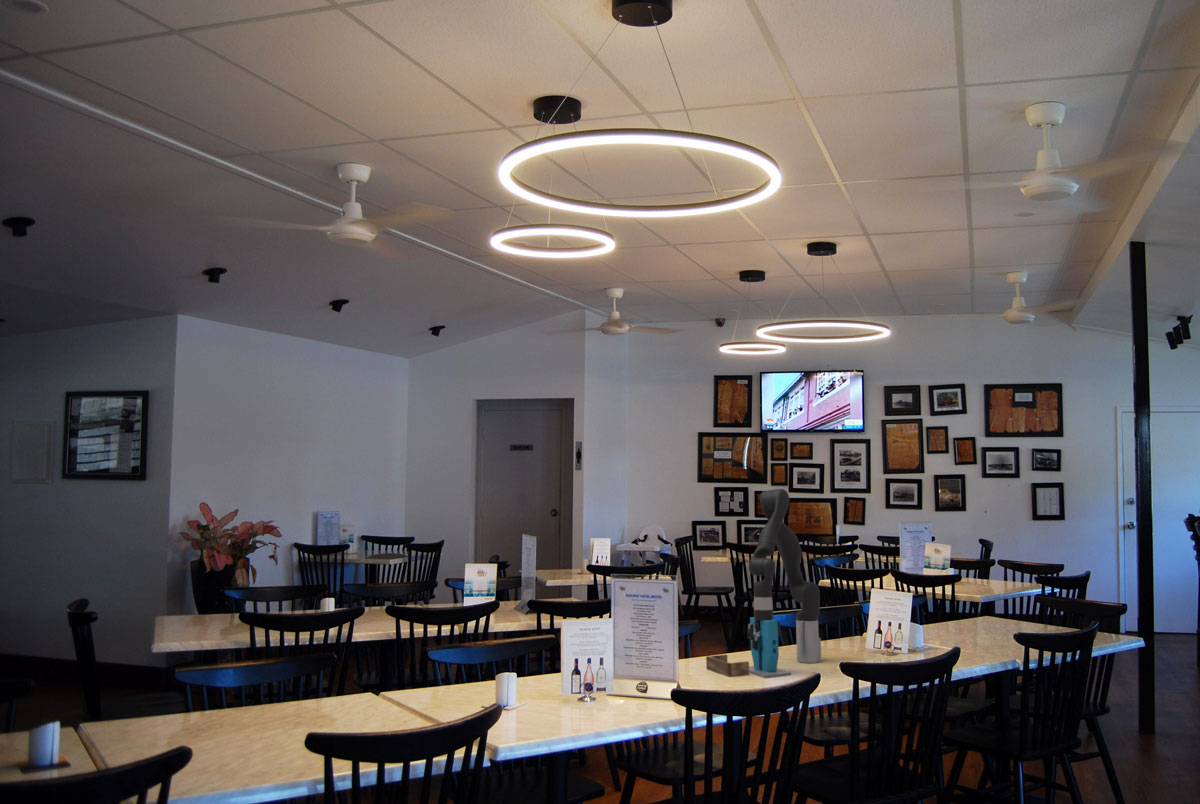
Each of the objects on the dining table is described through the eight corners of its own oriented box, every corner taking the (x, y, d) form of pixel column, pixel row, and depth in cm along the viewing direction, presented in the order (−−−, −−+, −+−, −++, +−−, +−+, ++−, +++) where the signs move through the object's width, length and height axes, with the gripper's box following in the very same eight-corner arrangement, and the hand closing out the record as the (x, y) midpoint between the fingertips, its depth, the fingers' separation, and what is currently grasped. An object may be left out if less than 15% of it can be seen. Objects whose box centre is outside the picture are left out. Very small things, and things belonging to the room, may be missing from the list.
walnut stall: (725, 666, 374) (725, 654, 374) (749, 674, 358) (748, 661, 358) (706, 668, 370) (706, 656, 370) (729, 676, 354) (728, 663, 355)
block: (780, 671, 358) (778, 620, 360) (770, 673, 355) (768, 621, 357) (760, 666, 368) (758, 616, 370) (750, 668, 366) (748, 617, 367)
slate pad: (765, 667, 372) (765, 664, 372) (791, 675, 356) (790, 672, 356) (740, 669, 367) (740, 667, 368) (765, 678, 351) (765, 675, 351)
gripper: (772, 605, 370) (774, 646, 369) (743, 608, 365) (744, 649, 363) (783, 608, 363) (784, 649, 362) (753, 610, 358) (754, 652, 356)
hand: (764, 649), depth 362 cm, fingers open, 8 cm apart
